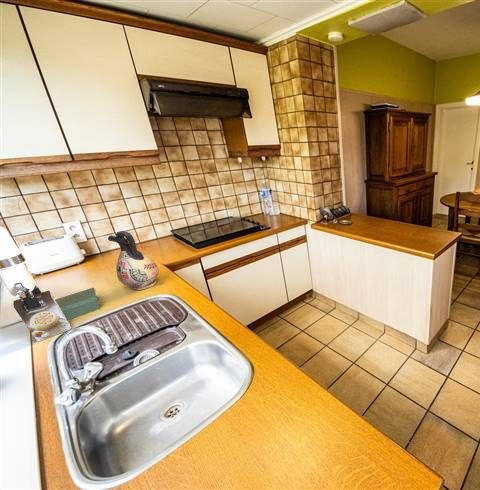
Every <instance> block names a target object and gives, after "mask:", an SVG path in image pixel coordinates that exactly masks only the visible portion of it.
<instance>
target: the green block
mask: <svg viewBox="0 0 480 490" xmlns="http://www.w3.org/2000/svg"><path fill="white" fill-rule="evenodd" d="M54 299H55V301H56V302H57V304H58V306H59V307H60V309H61V310H62V312H63V314H64V315H65V317H66V319H67V320H68V321H69V320H72V319H75V318H78V317H80V316H83V315H87V314H89V313H93V312H95V311H98V310H100V308H101V307H100V305H99V304H98V302H97V301H99V297H98V295H97V292H96V289H95V287H91V288H90V287H89V288H88V289H84V290H81V291H78V292H75V293H71V294H67V295H65V296H62V297H58V298H54Z"/></svg>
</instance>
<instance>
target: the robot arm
mask: <svg viewBox="0 0 480 490" xmlns="http://www.w3.org/2000/svg"><path fill="white" fill-rule="evenodd" d="M27 262H28V261H27V259H26V257H25V256H24V255H23V253H22V251H21V250H20V248H19V247H18V245H17V244H16V242H15V240H14V239H13V238H12V236H11V235H10V233H9V231H8V230H7V229H6V228H5V227H4V226H1V225H0V279H1V281H2V282H3V284H4V285H5V287H6V289H7V290H8V292H9V293H10V295H11V296H12V297H16V296H18V297H19V299H20V300H21V301H22V303H23V304H24V306H25V307H26V308H27V310H31V309H35V308H38V307H40V306H41V304H40V302H39V301H38V300H37V298H36V297H34V296H33V295H35V294H39V293H42V291H41V290H40V288H39V287H38V286H37V284H36V280H35V278H34V276H33V275H32V274H31V272H30V271H29V269H28V268H27V267H26V265H25V264H26V263H27Z"/></svg>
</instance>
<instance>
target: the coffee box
mask: <svg viewBox="0 0 480 490" xmlns="http://www.w3.org/2000/svg"><path fill="white" fill-rule="evenodd" d="M33 296H34V297H36V298H37V300H38V301H39V302H40V304H41V306H40V307H38V308H35V309H31V310H27V308H26V307H25V306H24V304H23V303H22V301H21V300H20V298H19V299H15V300H13V302H12V306H13V309H14V310H15V312H16V313H17V314H18V316H19V317H20V319H21V320H22V322H23V323H24V324H25V326H26V328H27V329H28V330H29V332H30V333H31V335H32V336H33V338H34V339H35V341H36V343H39V342H42V341H44V340H47V339H49V338H52V337H55V336H57V335H59V334H62V333H65V332H67V331H70V330H72V329H71V328H72V327H71V324H70V322H69V320H67V319H66V317H65V315H64V314H63V312H62V310H61V309H60V307H59V306H58V304H57V302H56V301H55V299H56V298H55V297H54V295H53V294H52V292H51V291H50V290H46V291H41V293H39V294H35V295H33Z"/></svg>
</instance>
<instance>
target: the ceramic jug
mask: <svg viewBox="0 0 480 490" xmlns="http://www.w3.org/2000/svg"><path fill="white" fill-rule="evenodd" d="M107 241H108V242H114V243H116V244H118V245H119V248H120V252H119V255H118V258H117V261H116V266H115V270H116V271H115V272H116V276H117V279H118V281H119V283H121V284H122V285H124V286H126V287H129V288H131V289H133V290H135V291H140V290H146V289H148V288H151V287H153V286H154V285H155V284H156V283H157V278H158V276H159V266H158V264H156V262H155V260H154V259H153V258H151V257H150V256H149V255H147V254H146V253H144V252H142V251H140V250H139V249H138V248H137V244H136V241H135V238H134V236H133V234H131V233H130V232H129V231H125V230H120V231H117V232H116V234H115V235H112V234H111V235H109V236H108V237H107Z"/></svg>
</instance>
